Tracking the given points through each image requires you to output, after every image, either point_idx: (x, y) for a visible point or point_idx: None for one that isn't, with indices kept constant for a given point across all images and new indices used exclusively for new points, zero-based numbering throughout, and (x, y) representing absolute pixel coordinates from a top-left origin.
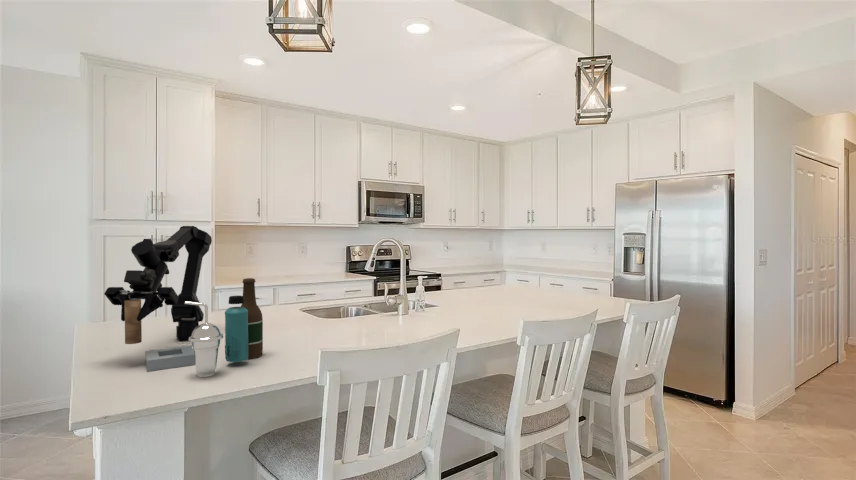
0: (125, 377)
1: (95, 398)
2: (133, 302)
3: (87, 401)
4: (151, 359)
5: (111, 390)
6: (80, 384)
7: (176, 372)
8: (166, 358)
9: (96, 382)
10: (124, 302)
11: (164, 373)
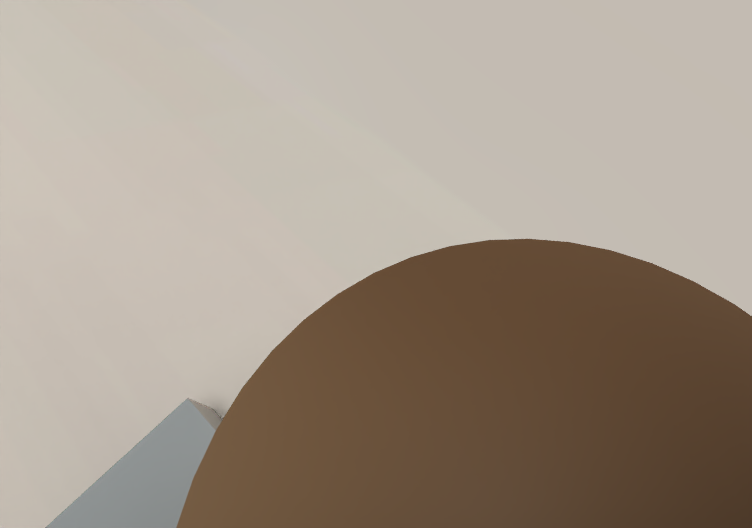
0: (264, 288)
1: (181, 57)
2: (291, 357)
3: (188, 33)
4: (176, 433)
5: (185, 131)
6: (398, 160)
7: (8, 439)
8: (79, 497)
9: (348, 195)
10: (694, 319)
11: (77, 402)
